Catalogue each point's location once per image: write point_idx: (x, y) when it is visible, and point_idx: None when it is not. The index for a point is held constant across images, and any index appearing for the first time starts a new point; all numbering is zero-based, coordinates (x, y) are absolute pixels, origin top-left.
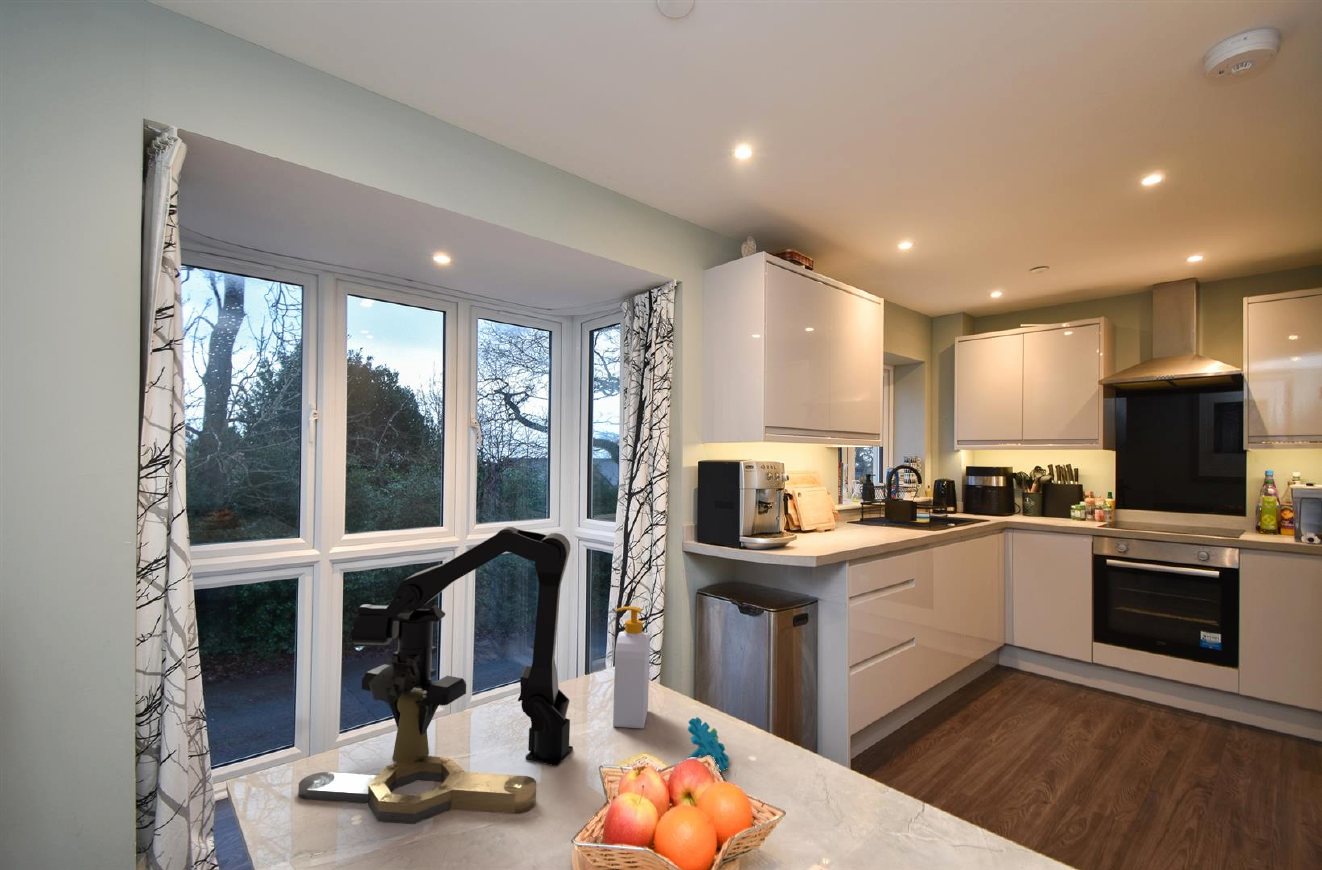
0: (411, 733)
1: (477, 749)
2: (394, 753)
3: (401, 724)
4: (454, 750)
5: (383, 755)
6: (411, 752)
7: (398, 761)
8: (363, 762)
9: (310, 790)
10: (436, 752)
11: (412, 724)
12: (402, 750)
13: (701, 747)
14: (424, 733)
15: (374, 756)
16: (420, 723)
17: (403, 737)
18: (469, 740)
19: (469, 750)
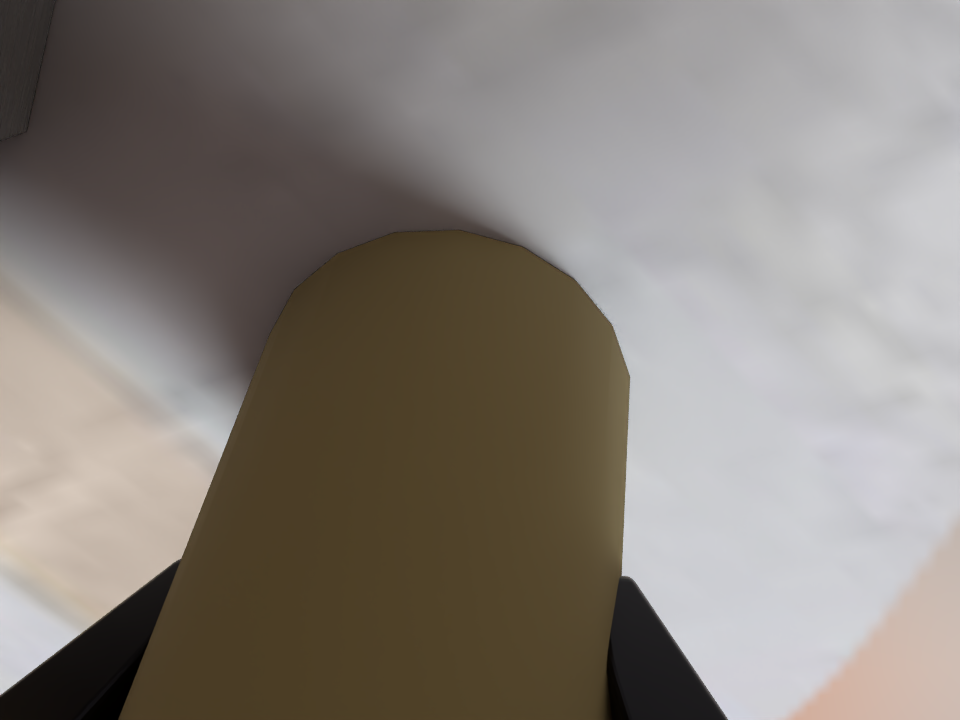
0: (218, 513)
1: (6, 627)
2: (535, 297)
3: (398, 613)
4: (148, 571)
5: (730, 300)
6: (280, 339)
7: (441, 239)
8: (882, 76)
9: None
10: None
11: (164, 660)
12: (378, 311)
13: None
14: None
15: (825, 246)
16: (36, 714)
17: (348, 427)
18: None
19: (44, 602)
